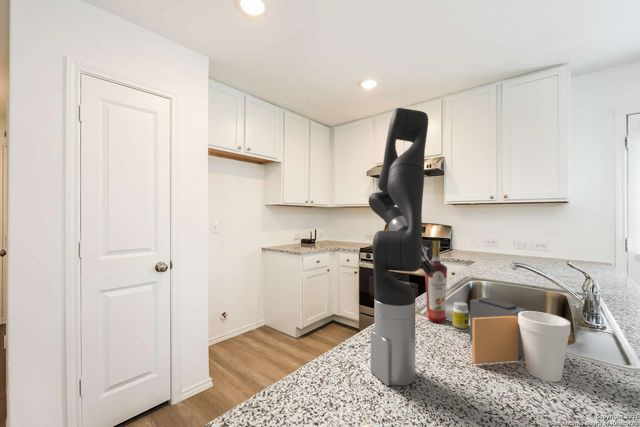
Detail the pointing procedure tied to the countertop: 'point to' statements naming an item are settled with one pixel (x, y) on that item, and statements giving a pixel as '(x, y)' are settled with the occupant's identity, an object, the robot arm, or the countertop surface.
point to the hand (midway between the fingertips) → (431, 273)
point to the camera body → (495, 314)
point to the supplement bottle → (460, 317)
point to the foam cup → (544, 343)
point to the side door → (494, 339)
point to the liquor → (436, 287)
